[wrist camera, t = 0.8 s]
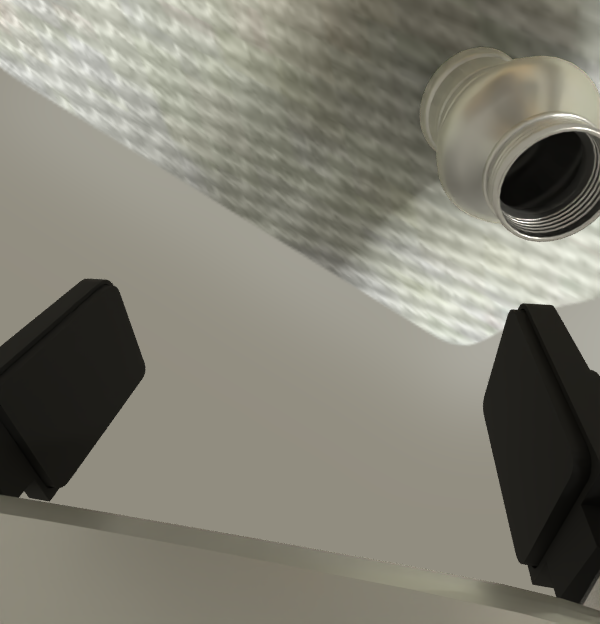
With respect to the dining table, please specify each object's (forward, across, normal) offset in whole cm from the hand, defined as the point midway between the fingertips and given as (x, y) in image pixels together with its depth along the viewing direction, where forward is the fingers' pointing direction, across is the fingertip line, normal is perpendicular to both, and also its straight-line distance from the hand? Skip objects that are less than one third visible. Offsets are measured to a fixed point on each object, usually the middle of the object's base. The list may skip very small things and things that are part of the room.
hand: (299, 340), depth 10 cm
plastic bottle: (+27, -7, -2) cm, 28 cm away
